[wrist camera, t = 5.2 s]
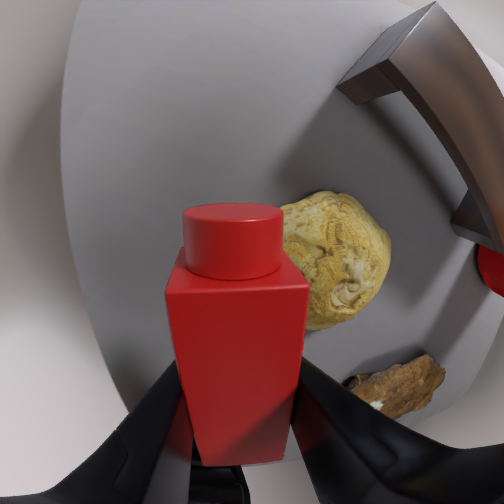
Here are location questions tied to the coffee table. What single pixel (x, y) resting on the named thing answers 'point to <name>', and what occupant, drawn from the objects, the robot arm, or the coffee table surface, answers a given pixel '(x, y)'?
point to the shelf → (445, 108)
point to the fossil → (336, 255)
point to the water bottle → (492, 269)
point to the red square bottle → (237, 331)
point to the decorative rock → (400, 386)
